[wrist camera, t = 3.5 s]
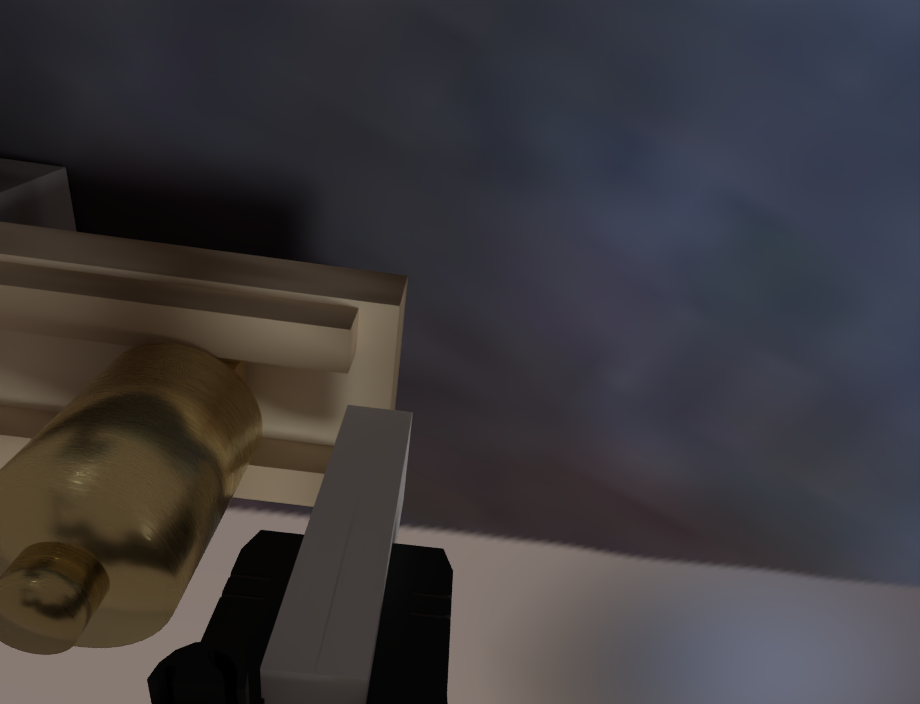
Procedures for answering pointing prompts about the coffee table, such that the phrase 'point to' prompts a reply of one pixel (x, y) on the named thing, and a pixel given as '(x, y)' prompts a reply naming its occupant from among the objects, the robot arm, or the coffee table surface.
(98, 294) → the stand
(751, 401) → the coffee table surface
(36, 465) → the rider
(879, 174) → the coffee table surface
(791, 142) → the coffee table surface
